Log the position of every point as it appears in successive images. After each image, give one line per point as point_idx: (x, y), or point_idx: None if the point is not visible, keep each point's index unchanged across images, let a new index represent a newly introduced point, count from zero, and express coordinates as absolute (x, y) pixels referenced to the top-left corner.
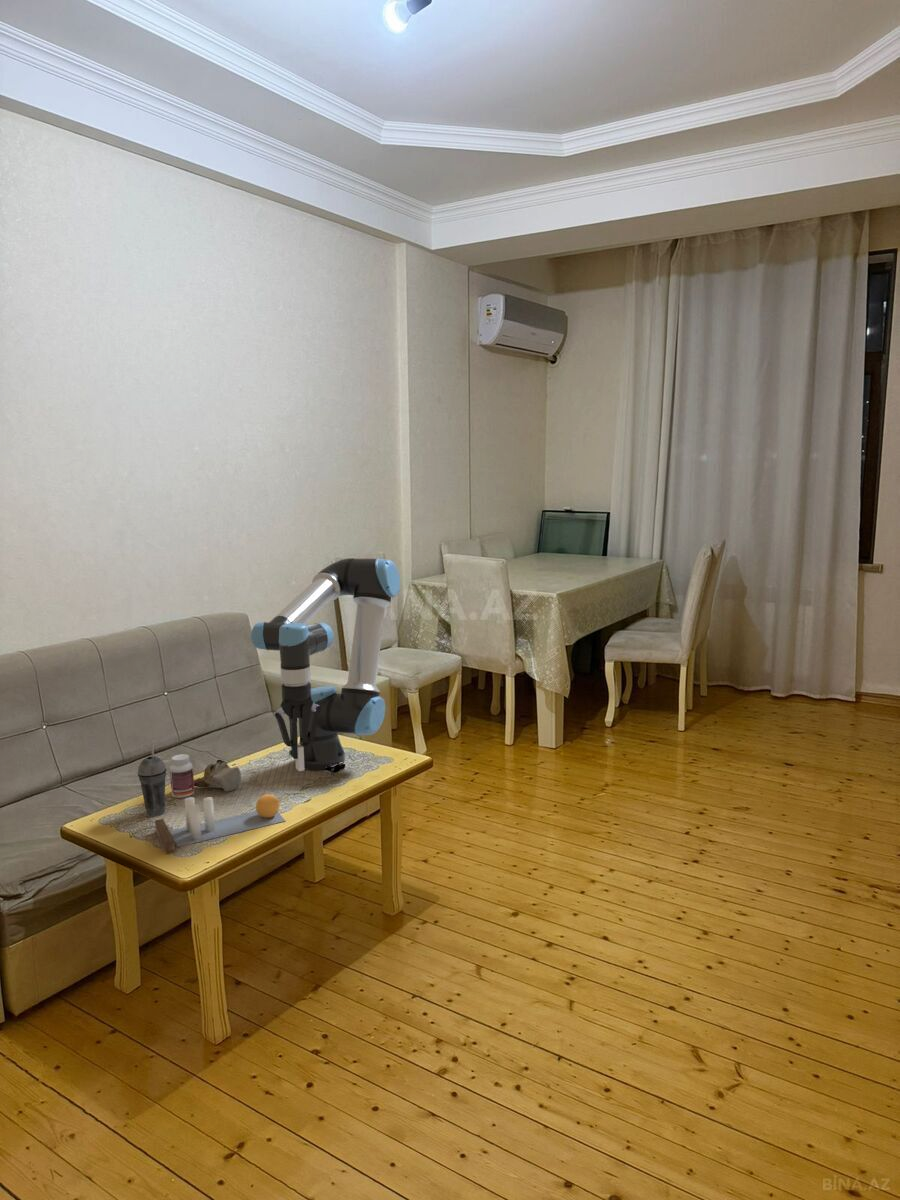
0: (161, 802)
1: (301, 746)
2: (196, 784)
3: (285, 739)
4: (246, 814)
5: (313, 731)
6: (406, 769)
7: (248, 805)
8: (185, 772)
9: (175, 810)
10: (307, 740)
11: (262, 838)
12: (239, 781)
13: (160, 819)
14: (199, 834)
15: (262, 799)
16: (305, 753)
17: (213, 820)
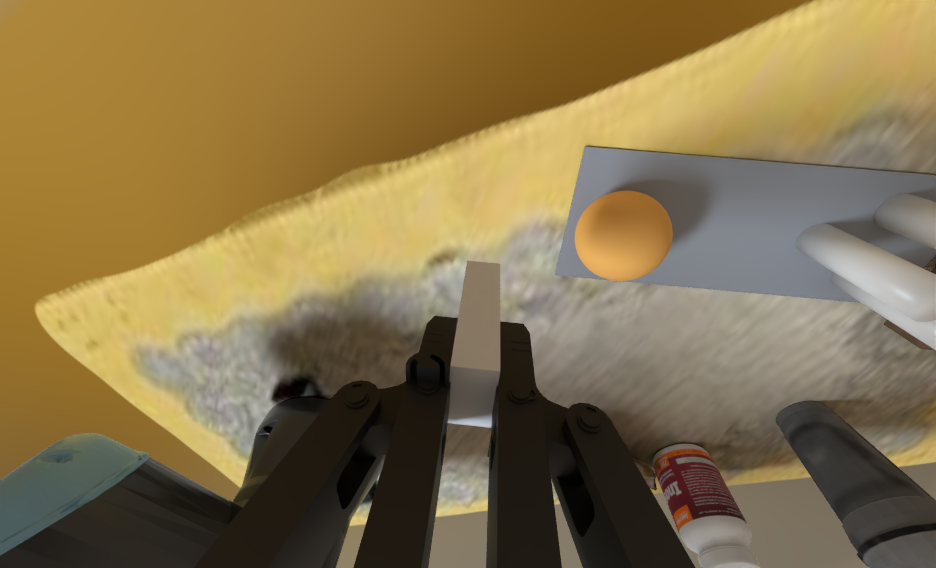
0: (828, 430)
1: (461, 378)
2: (653, 471)
3: (641, 482)
4: (651, 275)
5: (290, 480)
6: (87, 283)
7: (602, 329)
8: (720, 512)
9: (758, 402)
10: (393, 411)
11: (750, 41)
12: None
13: (930, 348)
14: (912, 201)
15: (662, 243)
16: (437, 332)
17: (844, 241)
